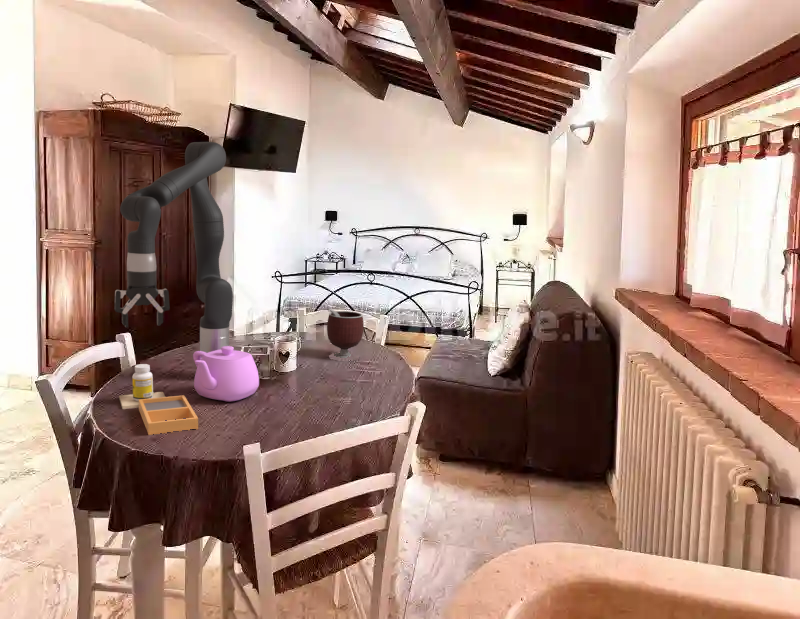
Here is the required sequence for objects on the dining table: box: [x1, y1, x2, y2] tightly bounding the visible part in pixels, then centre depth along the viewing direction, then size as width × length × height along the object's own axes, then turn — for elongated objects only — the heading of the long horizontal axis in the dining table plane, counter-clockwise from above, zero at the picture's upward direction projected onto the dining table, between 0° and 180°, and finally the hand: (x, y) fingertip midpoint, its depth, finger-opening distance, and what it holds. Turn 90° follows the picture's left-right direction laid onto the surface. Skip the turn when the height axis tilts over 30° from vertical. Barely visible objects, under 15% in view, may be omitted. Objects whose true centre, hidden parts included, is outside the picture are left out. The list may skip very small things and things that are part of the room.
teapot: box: [192, 345, 260, 403], centre depth 189 cm, size 23×21×15 cm
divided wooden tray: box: [138, 394, 199, 436], centre depth 170 cm, size 12×20×3 cm, turn 29°
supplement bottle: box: [131, 363, 154, 401], centre depth 182 cm, size 5×5×10 cm
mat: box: [118, 391, 166, 410], centre depth 183 cm, size 12×10×1 cm
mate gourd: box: [326, 308, 365, 358], centre depth 243 cm, size 16×14×20 cm
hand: (142, 326), depth 180 cm, fingers open, 8 cm apart
